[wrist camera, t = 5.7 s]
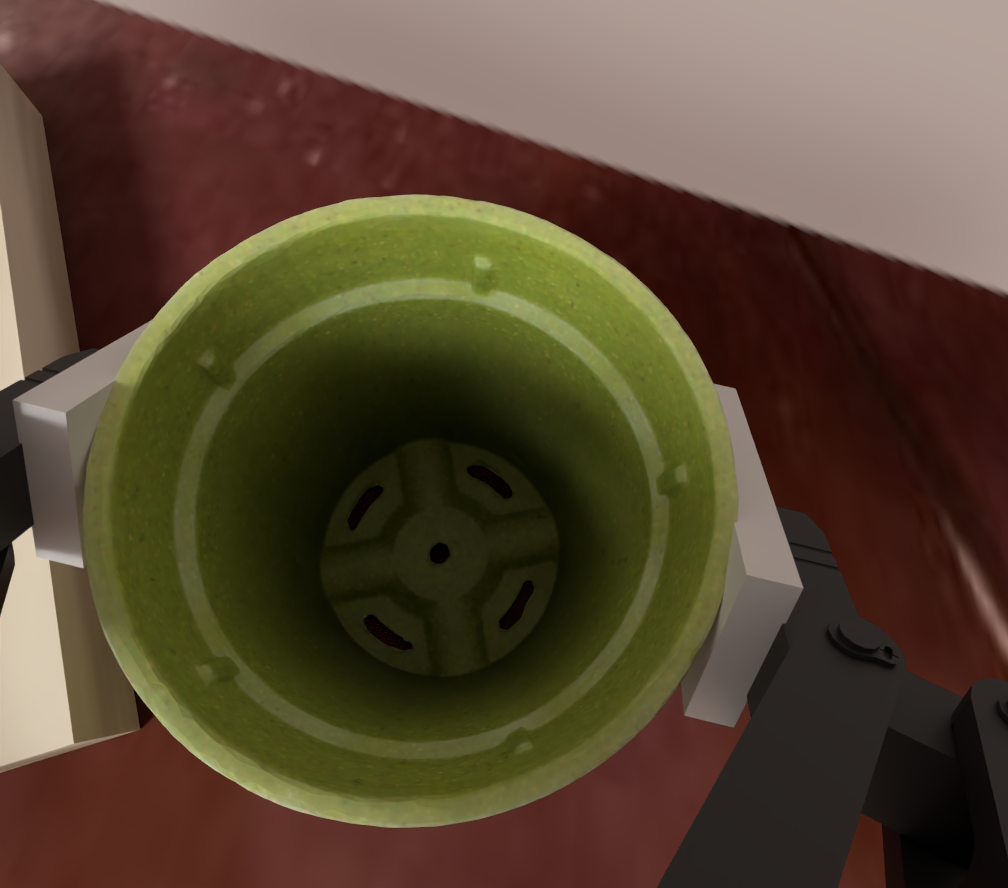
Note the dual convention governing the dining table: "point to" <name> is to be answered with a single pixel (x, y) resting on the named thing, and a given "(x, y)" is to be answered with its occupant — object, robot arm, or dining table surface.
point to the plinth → (35, 581)
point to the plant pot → (409, 510)
